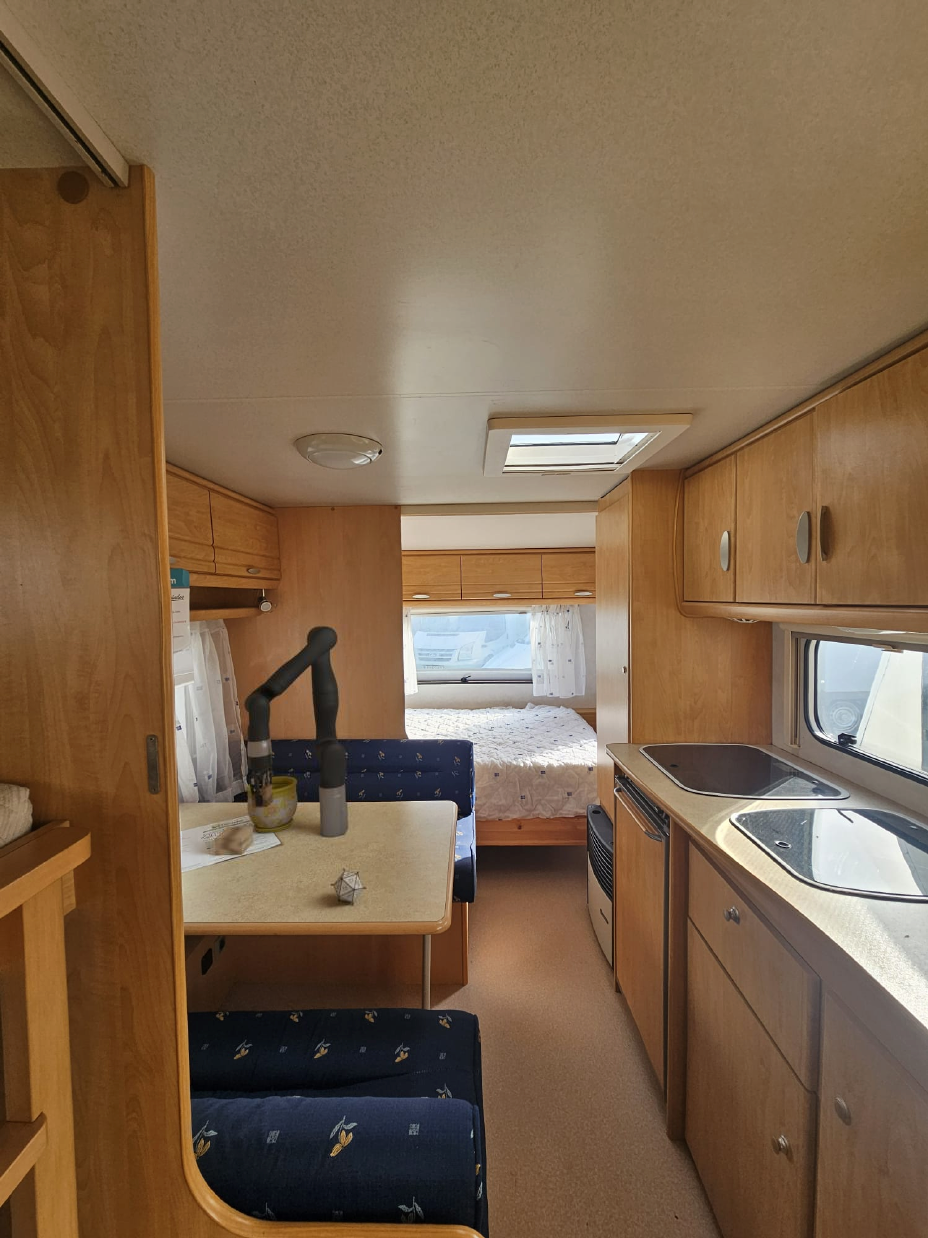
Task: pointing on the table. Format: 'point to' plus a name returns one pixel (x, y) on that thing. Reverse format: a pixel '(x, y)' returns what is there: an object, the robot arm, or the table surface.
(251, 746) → the robot arm
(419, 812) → the table surface
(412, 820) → the table surface
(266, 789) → the walnut block
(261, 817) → the flowerpot
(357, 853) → the table surface
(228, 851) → the oak box
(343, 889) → the game die
